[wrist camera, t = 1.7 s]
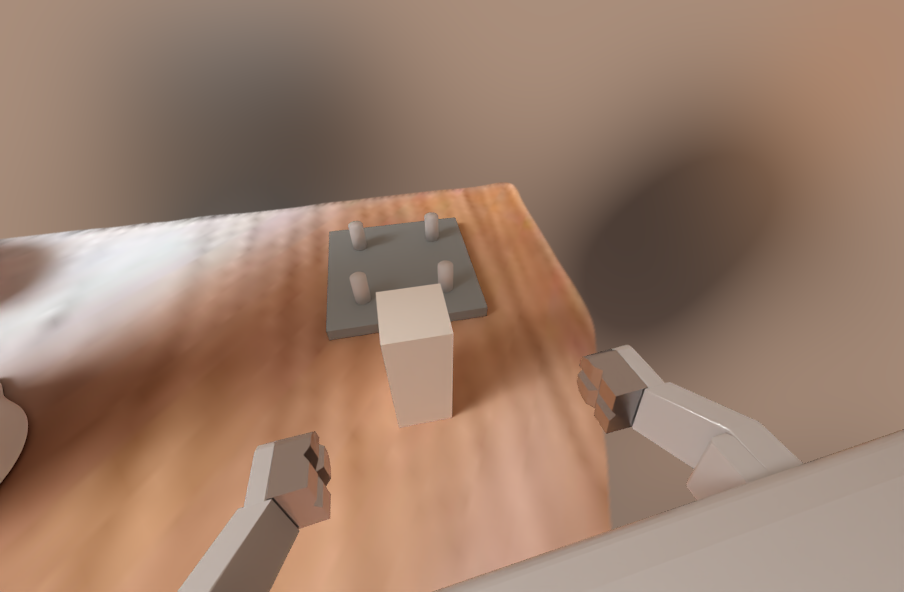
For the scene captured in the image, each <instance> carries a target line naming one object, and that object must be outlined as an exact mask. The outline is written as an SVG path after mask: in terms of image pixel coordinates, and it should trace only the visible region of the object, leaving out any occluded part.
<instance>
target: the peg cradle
mask: <svg viewBox="0 0 904 592" xmlns="http://www.w3.org/2000/svg"><path fill="white" fill-rule="evenodd" d="M424 217H425V221H420V222H411V223H402V224H393V225H385V226H376V227H367V228H363V224H362V222H360V221H353V222H351V223H349V225H348V227H349V230H341V231H332V232H329V261H328V291H327V321H326V333H327V335H328V338H329V340H333V339H340V338H346V337H353V336H359V335H366V334H372V333H379V325H378V313H377V302H376V292H382V291H389V290H396V289H403V288H410V287H417V286H425V285H432V284H439V283H440V284H441V288H442V291H443V295H444V299H445V303H446V307H447V311H448V314H449V318H450V321H456V320H463V319H469V318H476V317H482V316H487V308H488V307H487V304H486V302H485V299H484V296H483V293H482V291H481V288H480V285H479V282H478V280H477V277H476V274H475V271H474V268H473V266H472V263H471V260H470V257H469V255H468V252H467V249H466V246H465V244H464V241H463V238H462V235H461V232H460V230H459V227H458V224H457V221H456V219H455V218H446V219H438V215H437V214H436V213H427V214H425V216H424Z"/></svg>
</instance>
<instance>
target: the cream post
mask: <svg viewBox="0 0 904 592" xmlns="http://www.w3.org/2000/svg"><path fill="white" fill-rule="evenodd" d="M376 302H377V313H378V325H379V336H380V346H381V350H382V355H383V359H384V364H385V368H386V372H387V377H388V381H389V386H390V390H391V394H392V399H393V403H394V408H395V412H396V416H397V421H398V425H399V428H401V427H406V426H412V425H417V424H422V423H427V422H432V421H438V420H443V419H448V418H452V393H453V330H452V326H451V322H450V318H449V314H448V311H447V307H446V303H445V299H444V295H443V291H442V288H441V284H440V283H439V284H432V285H425V286H417V287H410V288H403V289H396V290H389V291H382V292H376Z"/></svg>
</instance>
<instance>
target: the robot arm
mask: <svg viewBox="0 0 904 592" xmlns="http://www.w3.org/2000/svg"><path fill="white" fill-rule="evenodd" d="M579 366H580V367H581V368H582V371H581V372H580V373H579V374H578V378H577V384H578V388H579V392H580V394H581V396H582V398H583V399H584V401H585V402H586V404H588V405H590V406H592V407H594V408H595V410H594V416H595V418H596V419H597V421H598V422H599V424H600V425H601V427H602V428H603V430H604V431H605V433H606V434H607V433H610V432H614V431H618V430H621V429H625V428H629V427H632V429H634V430H636V431H637V432H639V433H640V434H642V435H643V436H645V437H646V438H648V439H649V440H651V441H653V442H654V443H655V444H657V445H659V446H660V447H661V448H663V449H665V450H666V451H667V452H669V453H671V454H672V455H674V456H675V457H677V458H678V459H680V460H681V461H683V462H684V463H686V464H687V465H689V466H690V467H692V468H694V470H693V472H692V473H691V475H690V477H689V479H688V480H687V484H686V487H687V488H688V489H689V491H690V492H691V493H692V495H693V496H694V497H695V499H696V500H697V501H694V502H691V503H688V504H686V505H683V506H680V507H677V508H674V509H671V510H668V511H665V512H663V513H660V514H656V515H654V516H651V517H648V518H645V519H642V520H639V521H636V522H633V523H630V524H627V525H625V526H622V527H619V528H616V529H613V530H610V531H607V532H604V533H601V534H598V535H596V536H593V537H590V538H587V539H584V540H581V541H578V542H575V543H572V544H569V545H567V546H564V547H561V548H558V549H555V550H552V551H549V552H546V553H543V554H540V555H538V556H535V557H532V558H529V559H526V560H523V561H520V562H517V563H514V564H511V565H509V566H506V567H503V568H500V569H497V570H494V571H491V572H488V573H485V574H482V575H480V576H477V577H474V578H471V579H468V580H465V581H462V582H459V583H456V584H453V585H451V586H448V587H445V588H442V589H439V590H436V591H433V592H904V429H903V430H900V431H897V432H894V433H892V434H889V435H886V436H883V437H880V438H877V439H874V440H871V441H868V442H865V443H862V444H860V445H857V446H854V447H851V448H848V449H845V450H843V451H839V452H837V453H833V454H831V455H828V456H825V457H822V458H819V459H816V460H813V461H810V462H807V463H804V464H803V463H802V462H801V461H800V460H799V459H798V458H797V457H796V456H795V455H794V454H793V453H792V452H791V451H790V450H789V449H787V448H786V447H785V446H784V445H783V444H782V443H781V442H780V441H779V440H778V439H777V438H776V437H775V436H774V435H773V434H772V433H770V432H769V431H768V430H767V429H766V428H765V427H764V426H763V425H762V424H761V423H760V422H759V421H757V420H754V419H752V418H750V417H748V416H745V415H743V414H741V413H739V412H737V411H734V410H732V409H730V408H727V407H725V406H723V405H721V404H719V403H716V402H714V401H712V400H709V399H707V398H705V397H703V396H700V395H698V394H696V393H694V392H691V391H689V390H687V389H685V388H682V387H680V386H678V385H675V384H673V383H671V382H668V383H665V382H664V381H663V380H662V379H661V378H660V377H659V376H658V375H657V374H656V372H655V371H654V370H653V369H652V368H651V367H650V366H649V365H648V364H647V363H646V362H645V361H644V360H643V358H642V357H641V356H640V355H639V354H638V353H637V352H636V351H635V350H634V349H633V348H632V347H631V346H629V345H624V346H620V347H617V348H613V349H608V350H605V351H601V352H598V353H594V354H591V355H587V356H584V357H582V358H581V359H580V364H579ZM27 432H28V421H27V417H26V414H25V412H24V411H23V409H22V408H21V407H20V406H19V405H17V404H15V403H14V402H12V401H10V400H8V399H7V398H5V396H4V394H3V388H2V385H1V383H0V483H1V482H2V481H3V479H4V478H5V477H6V475H7V474H8V473H9V471H10V470H11V468H12V467H13V465H14V464H15V462H16V460H17V459H18V457H19V455H20V453H21V451H22V449H23V446H24V444H25V441H26V437H27ZM330 479H331V466H330V459H329V455H328V452H327V450H326V448H325V446H323V445H320V444H319V436H318V435H317V433H316V432H315V431H314V432H310V433H306V434H302V435H298V436H294V437H290V438H286V439H282V440H278V441H274V442H270V443H266V444H263V445H259V446H258V447H257V449H256V450H255V452H254V457H253V462H252V467H251V472H250V477H249V483H248V488H247V493H246V498H245V503H244V507H242V508H239V509H237V511H236V512H235V514H234V515H233V516H232V518H231V519H230V520H229V522H228V523H227V524H226V526H225V527H224V529H223V530H222V531H221V533H220V534H219V535H218V537H217V538H216V540H215V541H214V542H213V544H212V545H211V546H210V548H209V549H208V550H207V552H206V553H205V555H204V556H203V557H202V559H201V560H200V561H199V563H198V564H197V565H196V567H195V568H194V570H193V571H192V572H191V574H190V575H189V576H188V578H187V579H186V581H185V582H184V583H183V585H182V586H181V587H180V589H179V590H178V591H177V592H269V591H270V589H271V587H272V585H273V583H274V581H275V579H276V577H277V575H278V573H279V571H280V569H281V567H282V565H283V563H284V561H285V559H286V557H287V555H288V553H289V551H290V549H291V547H292V545H293V543H294V541H295V539H296V537H297V535H298V533H299V529H300V528H303V527H306V526H309V525H312V524H315V523H318V522H321V521H324V520H327V519H330V504H331V494H330V492H329V491H328V489H327V487H326V486H327V484H328V482H329V481H330Z"/></svg>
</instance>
